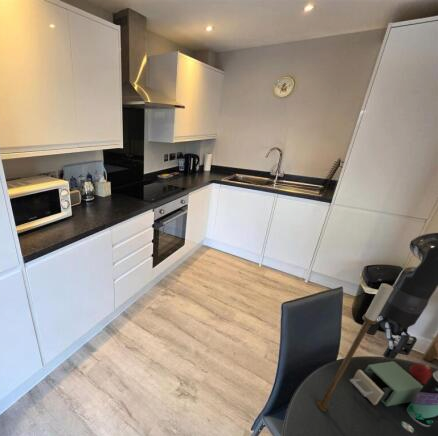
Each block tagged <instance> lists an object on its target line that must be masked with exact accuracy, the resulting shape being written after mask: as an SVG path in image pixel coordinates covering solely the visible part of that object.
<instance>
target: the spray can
mask: <svg viewBox="0 0 438 436" xmlns="http://www.w3.org/2000/svg"><path fill="white" fill-rule="evenodd" d="M422 386H423V388H422V389H421V390H420V391H419V393H418V394H417V395H416V397H415V398H414V399H413V401H412V402H409V404H408V406H407V407H406V413H407V415H408V416H409V417H410V418H411V419H412V420H413V421H414V422H415V423H417V424H419V425H421V426H423V427H426V428H429V427H432V425H433V424H435V422H436V421H437V419H438V369H437V370H435V371H434V372H433V374H432V376H431V377H430V378H429V380H428V381H427V382H426V384H423V385H422Z"/></svg>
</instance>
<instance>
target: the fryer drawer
mask: <svg viewBox="0 0 438 436" xmlns="http://www.w3.org/2000/svg"><path fill="white" fill-rule="evenodd" d="M349 382H350V383H351V384H352V385H353V386H354V387H355V388H356V389H357V391H359V392H360V394H361V395H362V396H363V397H365V398H366V399H368V401H370V403H371V404H372V405H373V406H375V405H378V403H379V402H382V401H383V400H387V399H388V398H389V397H390V395H391V394H392V392H393V390H392V389H391V388H390V387H389V386H388V385H387V384H386V383H385V382H384V381H383V380H382V379H381V378H380V377H379V376H377V375H376V374H375V373H374V372H373V371H372V370H369V371H365V370H364V371H363V370H362V369H357V371H356V372H355V373H354V375H353V378H350V379H349Z"/></svg>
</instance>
